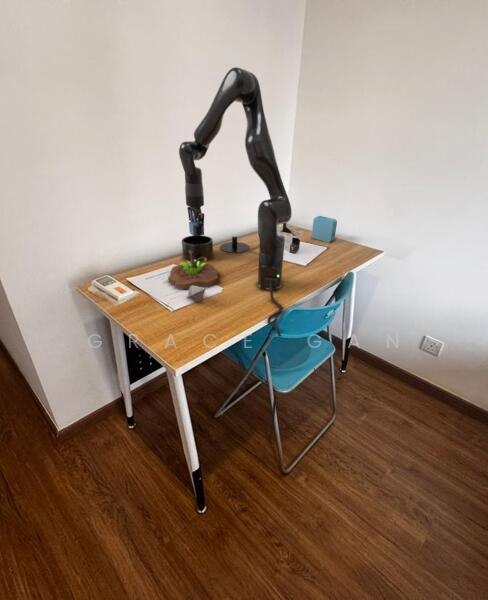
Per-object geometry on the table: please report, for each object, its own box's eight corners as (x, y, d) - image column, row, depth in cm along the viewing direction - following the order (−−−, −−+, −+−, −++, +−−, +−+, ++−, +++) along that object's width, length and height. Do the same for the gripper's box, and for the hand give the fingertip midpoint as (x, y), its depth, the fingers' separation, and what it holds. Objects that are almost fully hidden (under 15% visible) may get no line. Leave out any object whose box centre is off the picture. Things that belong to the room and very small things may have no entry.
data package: (334, 241, 176) (337, 219, 170) (330, 243, 173) (333, 221, 167) (315, 236, 182) (317, 215, 176) (311, 238, 179) (313, 216, 173)
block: (204, 234, 143) (203, 223, 141) (193, 236, 141) (192, 225, 138) (200, 231, 147) (199, 220, 144) (189, 233, 144) (188, 222, 142)
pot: (208, 264, 142) (207, 246, 138) (178, 261, 144) (177, 243, 140) (216, 253, 154) (216, 236, 150) (188, 251, 156) (187, 234, 152)
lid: (246, 255, 153) (246, 243, 150) (216, 252, 155) (216, 240, 152) (251, 245, 166) (251, 233, 163) (224, 243, 168) (223, 231, 165)
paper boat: (182, 290, 118) (204, 280, 121) (190, 306, 119) (212, 295, 121) (184, 287, 107) (209, 276, 109) (193, 304, 107) (217, 293, 110)
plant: (213, 265, 141) (212, 241, 136) (223, 285, 125) (222, 258, 120) (166, 270, 136) (163, 245, 130) (170, 291, 120) (167, 263, 114)
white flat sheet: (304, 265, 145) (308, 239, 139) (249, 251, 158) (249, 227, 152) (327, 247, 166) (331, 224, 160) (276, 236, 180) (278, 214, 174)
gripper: (180, 191, 139) (183, 229, 147) (192, 198, 128) (194, 239, 136) (196, 190, 142) (198, 227, 151) (209, 196, 132) (211, 236, 140)
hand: (196, 233), depth 143 cm, fingers closed on block, 5 cm apart
